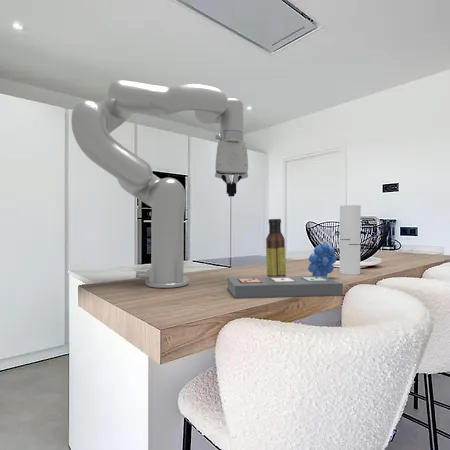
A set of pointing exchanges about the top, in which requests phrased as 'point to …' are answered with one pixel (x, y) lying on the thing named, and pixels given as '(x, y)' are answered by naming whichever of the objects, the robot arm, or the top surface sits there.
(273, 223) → the sauce bottle
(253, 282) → the tile three
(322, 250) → the grapes
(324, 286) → the button board
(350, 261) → the cylindrical container
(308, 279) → the tile two
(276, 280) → the tile one
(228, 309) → the top surface
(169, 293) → the top surface
